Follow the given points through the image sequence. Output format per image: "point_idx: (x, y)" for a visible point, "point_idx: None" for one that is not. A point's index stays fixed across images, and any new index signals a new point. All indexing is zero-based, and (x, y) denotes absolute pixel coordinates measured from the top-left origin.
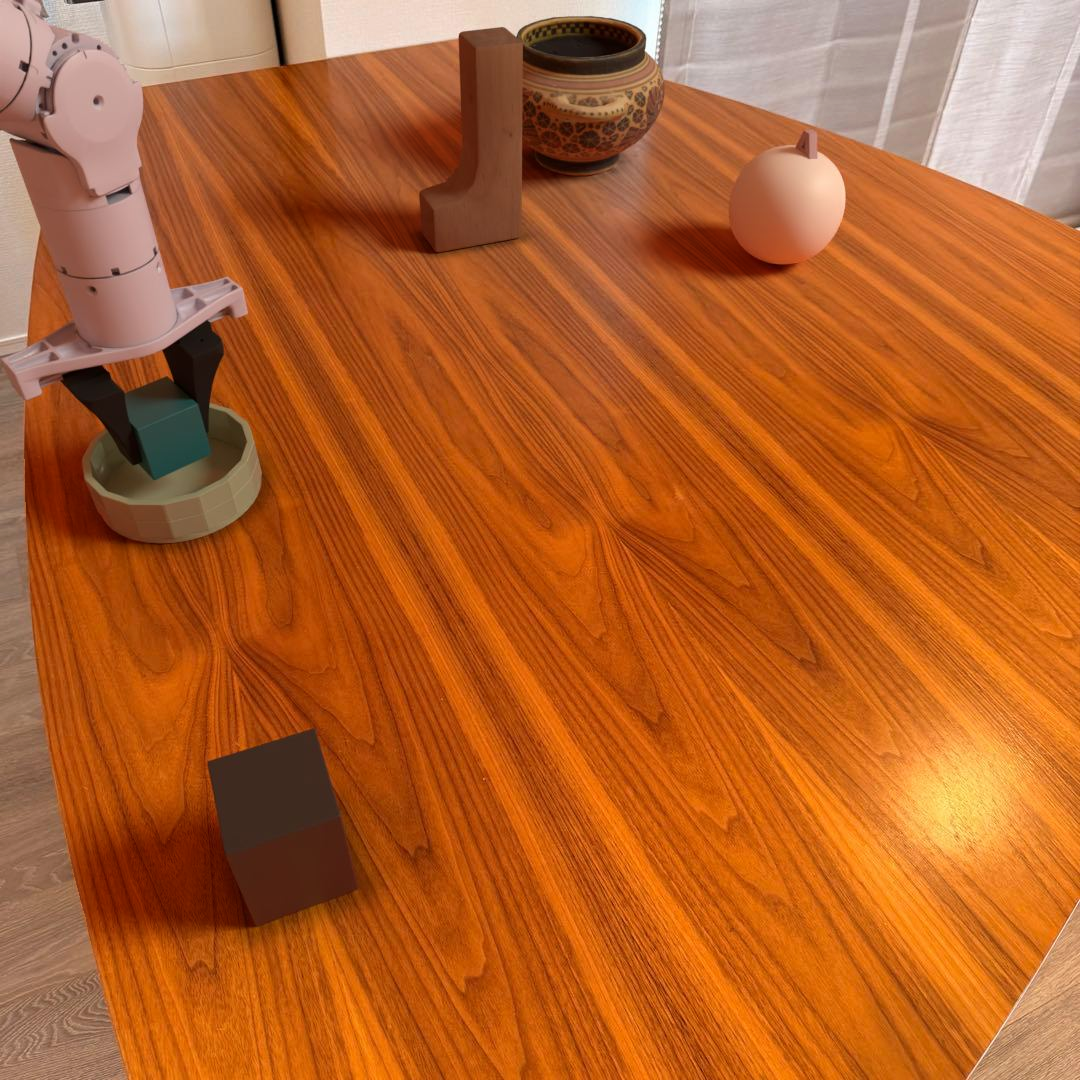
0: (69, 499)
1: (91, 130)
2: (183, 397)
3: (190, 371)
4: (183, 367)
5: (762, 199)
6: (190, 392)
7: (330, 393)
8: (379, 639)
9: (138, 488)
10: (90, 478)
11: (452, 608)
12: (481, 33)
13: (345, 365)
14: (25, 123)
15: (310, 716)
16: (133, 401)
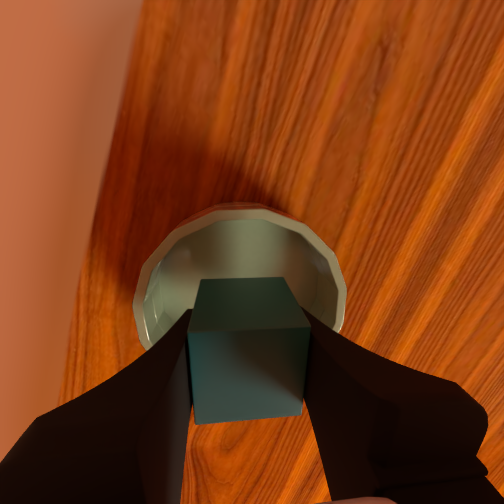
0: (133, 225)
1: None
2: (294, 393)
3: (331, 486)
4: (331, 454)
5: None
6: (310, 394)
7: (445, 243)
8: (265, 479)
9: (202, 270)
10: (138, 309)
11: (314, 480)
12: None
13: (496, 208)
14: None
15: (200, 501)
16: (224, 361)
